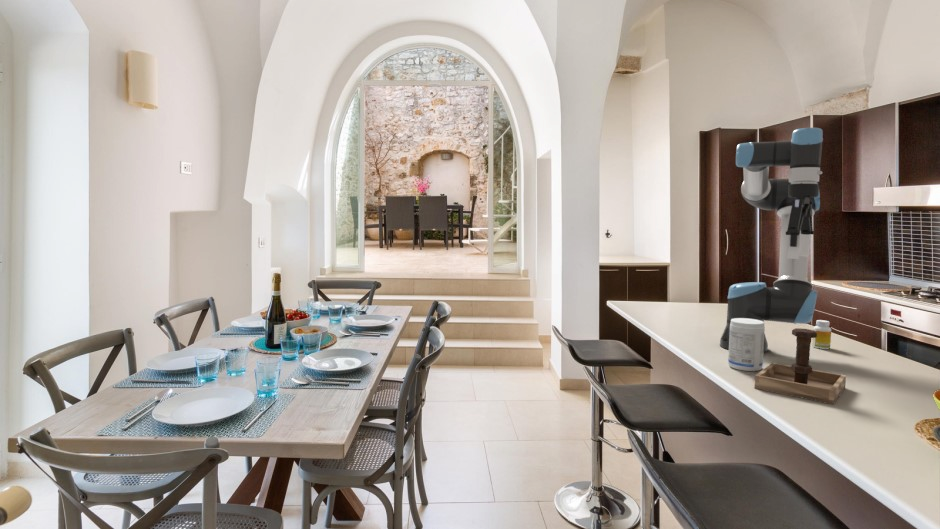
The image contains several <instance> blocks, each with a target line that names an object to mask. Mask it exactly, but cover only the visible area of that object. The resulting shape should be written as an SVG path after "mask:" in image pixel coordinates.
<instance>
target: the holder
mask: <svg viewBox="0 0 940 529" xmlns="http://www.w3.org/2000/svg"><path fill="white" fill-rule="evenodd" d="M794 375H795V372H793V371H792V369H791V365H787V364H782V363H776V362H771V363H770V364H769V365H767V366H766V367H765V368H764V369H763V368H762V369H761V370H760V371H759V372H758V373H757V374H755V375H754V387H753V388H754V389H756V388H757V389H756V390H761V389H762V391H767V392H770V391H771V393H775V392H777V394H780V393H782V394H781V395H785V394H786V396H790V395H792V396H791V397H795V396H798V397H797V398H799V397H803V398H802V399H804V398H807V399H806V400H809V399H812V400H811V401H814V400H816V401H815V402H819V401H821V402H820V403H824V402H826V403H825V404H828V403H831V404H830V405H834V404H835V403H836V401H837V400H838V399H839V398H840V396H841V395H842V393H843V392H844V391H845V389H846V383H847V375H845V374H839V373H833V372H827V371H823V370H822V371H821V370H817V369H812V373H810V374H808V383H807V384H802V383H797V382H794V379H795V378H794ZM842 391H843V392H842ZM840 394H841V395H840ZM839 395H840V396H839ZM837 398H838V399H837ZM834 402H835V403H834Z"/></svg>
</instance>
